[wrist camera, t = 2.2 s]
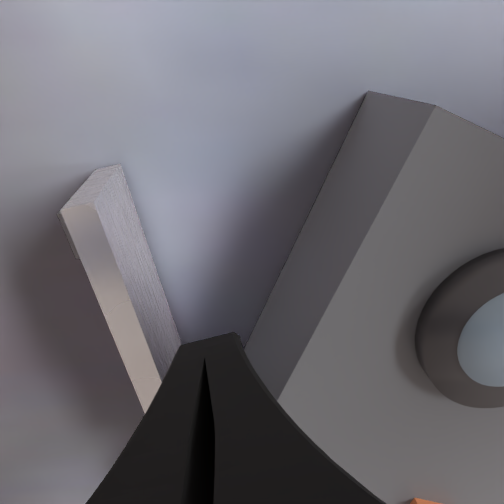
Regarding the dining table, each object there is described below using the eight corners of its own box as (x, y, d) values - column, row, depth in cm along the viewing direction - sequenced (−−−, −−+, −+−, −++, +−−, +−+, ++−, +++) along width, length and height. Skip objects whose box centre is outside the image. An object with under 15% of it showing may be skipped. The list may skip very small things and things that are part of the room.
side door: (75, 173, 13) (29, 219, 9) (124, 162, 13) (96, 202, 9) (171, 420, 17) (164, 517, 13) (208, 411, 17) (211, 505, 13)
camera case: (368, 90, 13) (453, 108, 9) (598, 199, 15) (757, 257, 11) (197, 445, 17) (197, 572, 13) (392, 488, 20) (447, 609, 15)
